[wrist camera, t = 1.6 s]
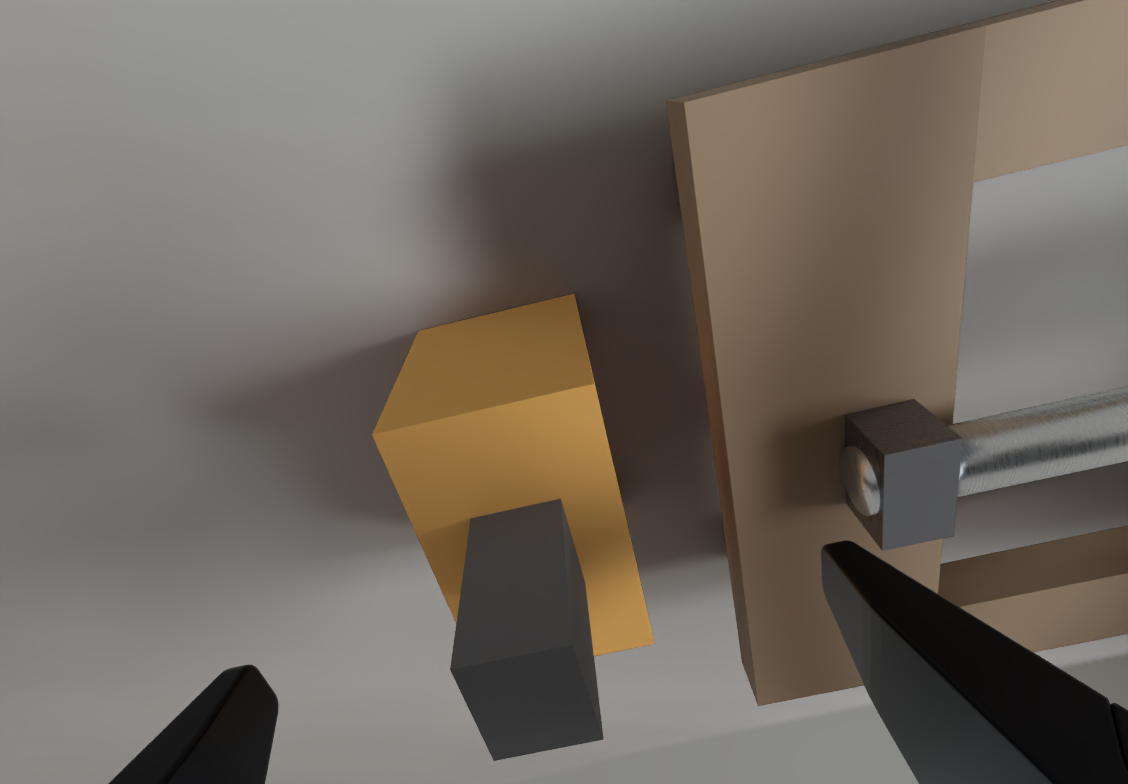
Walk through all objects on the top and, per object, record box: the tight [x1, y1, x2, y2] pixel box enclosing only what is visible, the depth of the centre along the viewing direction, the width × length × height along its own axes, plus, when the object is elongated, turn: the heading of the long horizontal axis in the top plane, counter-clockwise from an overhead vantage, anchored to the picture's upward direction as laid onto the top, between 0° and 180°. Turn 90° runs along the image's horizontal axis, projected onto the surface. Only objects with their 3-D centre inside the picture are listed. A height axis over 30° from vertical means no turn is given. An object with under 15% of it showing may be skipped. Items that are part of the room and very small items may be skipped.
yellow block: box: [372, 294, 655, 761], centre depth 11 cm, size 4×6×8 cm, turn 13°
